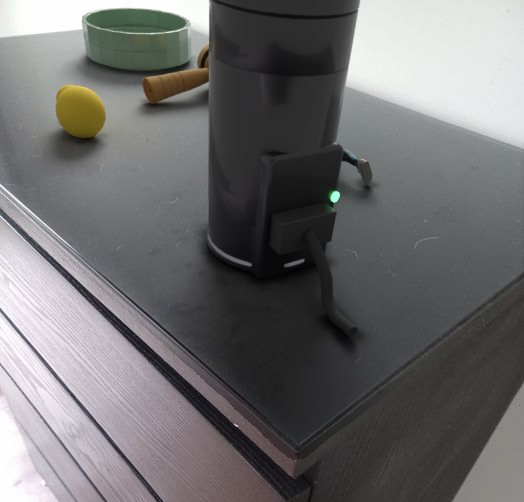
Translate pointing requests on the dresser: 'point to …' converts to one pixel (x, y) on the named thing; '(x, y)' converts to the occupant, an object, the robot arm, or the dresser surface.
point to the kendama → (177, 80)
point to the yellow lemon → (80, 111)
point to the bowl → (137, 38)
